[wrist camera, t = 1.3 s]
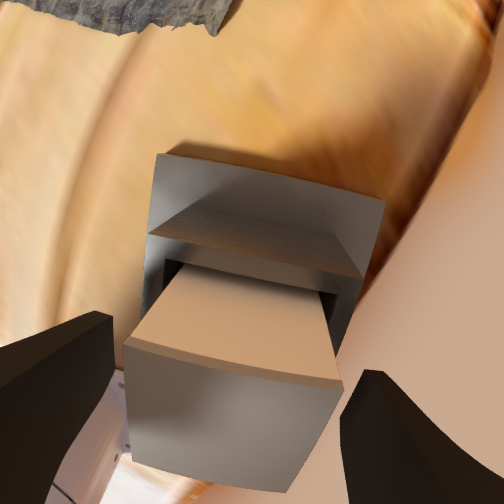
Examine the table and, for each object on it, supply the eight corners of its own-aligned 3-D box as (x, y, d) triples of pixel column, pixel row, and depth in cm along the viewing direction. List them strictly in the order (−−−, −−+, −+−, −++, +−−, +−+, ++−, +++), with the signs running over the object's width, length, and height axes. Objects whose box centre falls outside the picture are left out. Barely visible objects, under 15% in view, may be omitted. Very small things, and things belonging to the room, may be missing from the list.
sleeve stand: (321, 374, 17) (333, 457, 11) (146, 337, 17) (101, 408, 11) (379, 198, 14) (440, 230, 8) (164, 153, 14) (96, 158, 8)
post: (285, 335, 15) (287, 494, 7) (195, 316, 15) (130, 461, 7) (309, 250, 14) (348, 387, 5) (208, 229, 14) (119, 339, 5)
